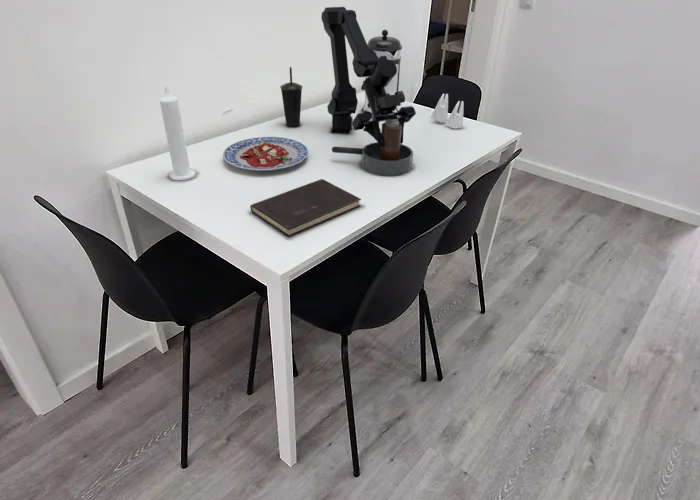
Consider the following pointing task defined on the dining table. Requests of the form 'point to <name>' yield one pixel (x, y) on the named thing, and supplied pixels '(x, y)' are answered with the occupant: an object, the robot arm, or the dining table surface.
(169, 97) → the candle
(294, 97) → the drinking cup
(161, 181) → the dining table surface
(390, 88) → the coffee press
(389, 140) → the pepper mill
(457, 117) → the shaker set
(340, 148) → the pan handle
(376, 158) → the pan
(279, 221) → the hardcover book
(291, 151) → the ceramic plate
